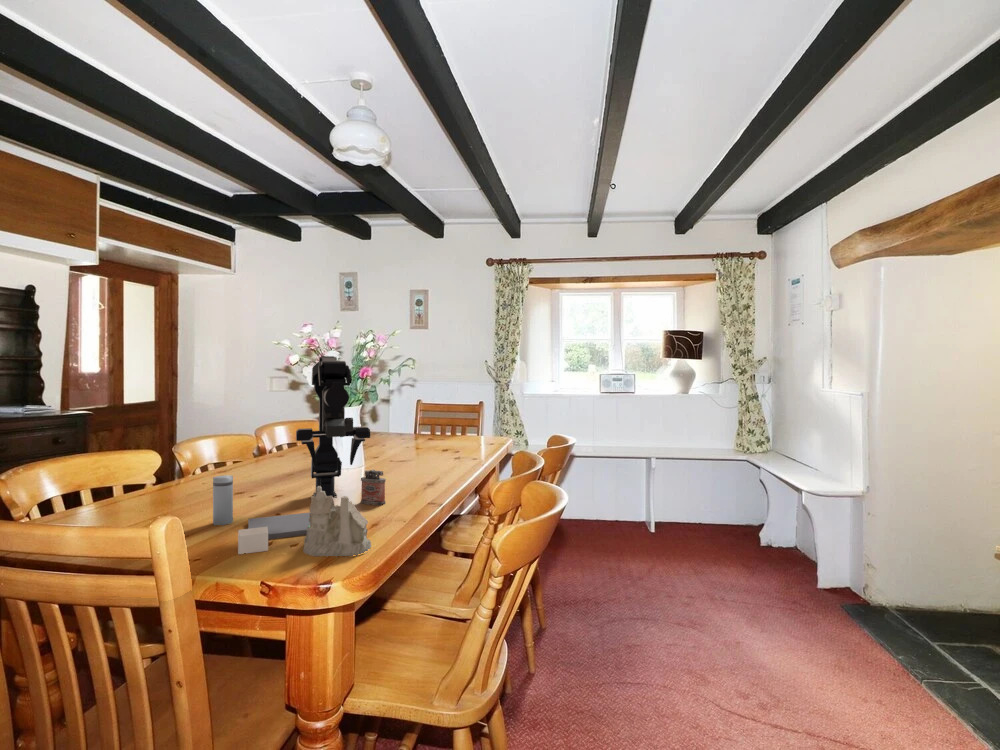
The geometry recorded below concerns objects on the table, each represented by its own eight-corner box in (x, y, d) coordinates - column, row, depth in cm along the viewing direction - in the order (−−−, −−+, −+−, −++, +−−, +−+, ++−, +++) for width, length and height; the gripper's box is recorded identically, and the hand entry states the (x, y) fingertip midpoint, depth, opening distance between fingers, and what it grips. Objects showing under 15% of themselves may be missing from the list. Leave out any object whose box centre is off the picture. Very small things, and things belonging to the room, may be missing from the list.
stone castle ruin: (358, 559, 114) (358, 488, 115) (288, 556, 117) (288, 487, 118) (386, 540, 130) (386, 478, 130) (323, 539, 132) (323, 477, 133)
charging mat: (239, 524, 139) (239, 508, 139) (313, 516, 147) (313, 501, 146) (238, 554, 117) (238, 536, 117) (324, 543, 124) (324, 526, 124)
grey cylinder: (213, 521, 141) (213, 476, 141) (233, 519, 143) (233, 474, 143) (212, 526, 137) (212, 479, 137) (232, 524, 139) (232, 478, 139)
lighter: (358, 503, 161) (358, 470, 161) (364, 500, 164) (365, 468, 164) (381, 505, 158) (381, 472, 158) (387, 503, 162) (387, 470, 161)
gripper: (297, 409, 133) (297, 472, 133) (373, 407, 140) (373, 467, 140) (296, 407, 143) (295, 466, 143) (367, 406, 150) (367, 462, 150)
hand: (333, 465), depth 144 cm, fingers open, 9 cm apart
